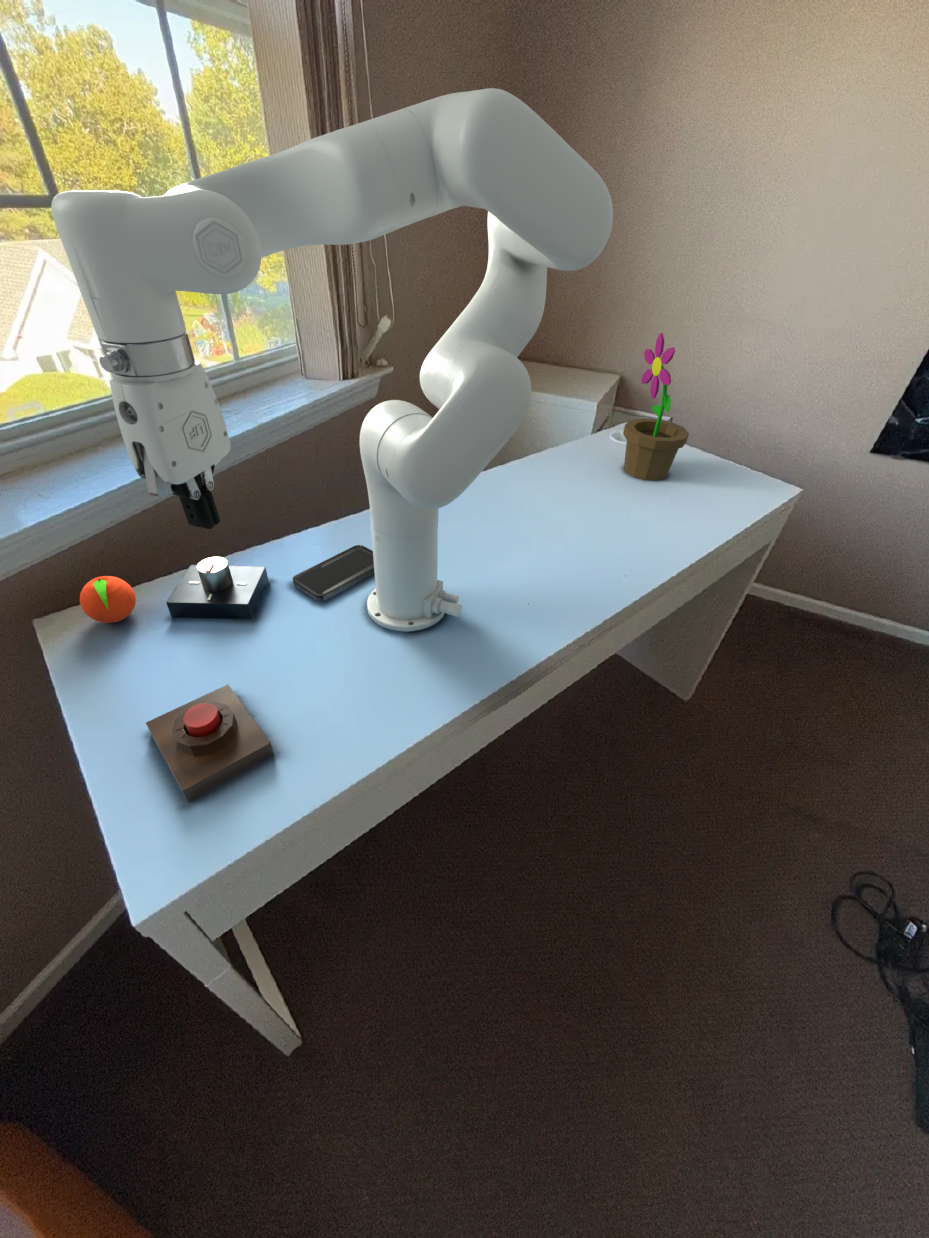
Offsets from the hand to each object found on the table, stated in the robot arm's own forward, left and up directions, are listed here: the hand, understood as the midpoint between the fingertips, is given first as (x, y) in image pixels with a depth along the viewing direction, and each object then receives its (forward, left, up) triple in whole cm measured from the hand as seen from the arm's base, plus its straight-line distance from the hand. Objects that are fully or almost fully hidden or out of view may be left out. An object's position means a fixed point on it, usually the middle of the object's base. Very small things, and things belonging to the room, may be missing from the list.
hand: (204, 523), depth 64 cm
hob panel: (+11, -10, -21) cm, 26 cm away
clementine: (+22, 0, -21) cm, 31 cm away
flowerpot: (-49, -89, -21) cm, 104 cm away
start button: (-6, +14, -17) cm, 23 cm away
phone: (-3, -23, -21) cm, 31 cm away
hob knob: (+11, -10, -18) cm, 23 cm away
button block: (-6, +14, -21) cm, 26 cm away
